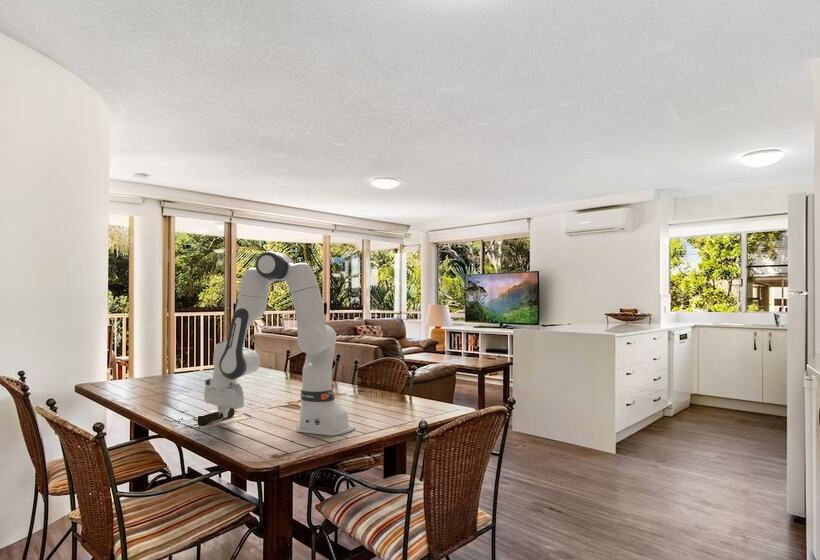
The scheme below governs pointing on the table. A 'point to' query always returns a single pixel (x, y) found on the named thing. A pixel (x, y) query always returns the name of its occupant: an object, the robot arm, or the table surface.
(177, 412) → the table surface
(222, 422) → the sheet
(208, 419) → the hand tool
